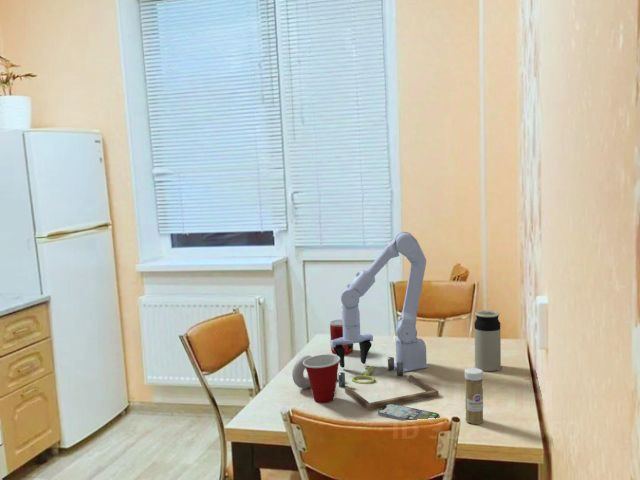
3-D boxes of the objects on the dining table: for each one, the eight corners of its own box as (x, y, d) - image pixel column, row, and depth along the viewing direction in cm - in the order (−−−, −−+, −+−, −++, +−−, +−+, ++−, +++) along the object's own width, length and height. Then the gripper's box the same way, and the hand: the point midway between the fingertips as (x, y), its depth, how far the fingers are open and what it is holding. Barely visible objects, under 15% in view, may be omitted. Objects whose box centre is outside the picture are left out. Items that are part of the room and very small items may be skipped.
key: (374, 371, 198) (373, 365, 198) (375, 385, 186) (375, 378, 186) (351, 372, 199) (351, 366, 199) (351, 386, 187) (351, 379, 186)
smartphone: (429, 424, 155) (376, 412, 162) (429, 428, 155) (376, 416, 162) (440, 413, 161) (388, 402, 169) (440, 417, 161) (388, 406, 169)
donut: (298, 393, 180) (296, 361, 179) (290, 391, 183) (288, 358, 182) (322, 384, 187) (320, 352, 186) (314, 382, 190) (313, 350, 189)
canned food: (353, 354, 216) (352, 324, 215) (331, 355, 216) (329, 325, 215) (352, 348, 223) (351, 318, 222) (331, 349, 224) (329, 319, 222)
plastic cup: (305, 392, 181) (303, 353, 180) (341, 391, 181) (340, 352, 179) (303, 407, 170) (301, 365, 169) (342, 406, 170) (340, 364, 168)
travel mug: (491, 373, 190) (490, 317, 188) (470, 368, 196) (469, 313, 194) (505, 367, 195) (505, 312, 193) (484, 362, 201) (483, 309, 199)
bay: (411, 379, 188) (411, 375, 188) (438, 396, 174) (438, 391, 174) (345, 392, 180) (344, 387, 180) (367, 410, 166) (367, 405, 166)
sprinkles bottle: (472, 426, 153) (472, 374, 152) (461, 419, 157) (460, 369, 156) (487, 422, 155) (486, 371, 153) (476, 416, 159) (475, 366, 158)
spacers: (392, 368, 199) (392, 356, 199) (404, 376, 192) (404, 363, 191) (330, 379, 191) (329, 367, 191) (340, 387, 184) (339, 375, 183)
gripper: (365, 319, 206) (367, 358, 208) (326, 324, 201) (327, 364, 203) (375, 323, 200) (376, 364, 201) (334, 329, 194) (336, 371, 196)
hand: (352, 364), depth 202 cm, fingers open, 7 cm apart
